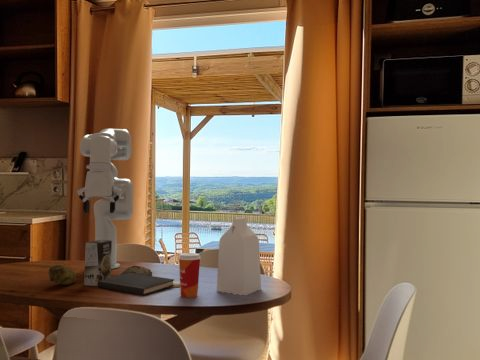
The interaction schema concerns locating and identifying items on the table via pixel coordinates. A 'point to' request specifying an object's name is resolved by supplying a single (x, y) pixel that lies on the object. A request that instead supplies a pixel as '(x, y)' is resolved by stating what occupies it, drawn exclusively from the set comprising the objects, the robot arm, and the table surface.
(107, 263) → the coffee box
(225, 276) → the milk
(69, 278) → the potato
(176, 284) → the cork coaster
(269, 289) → the table surface
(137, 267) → the bread roll
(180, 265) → the paper cup
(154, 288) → the hardcover book
